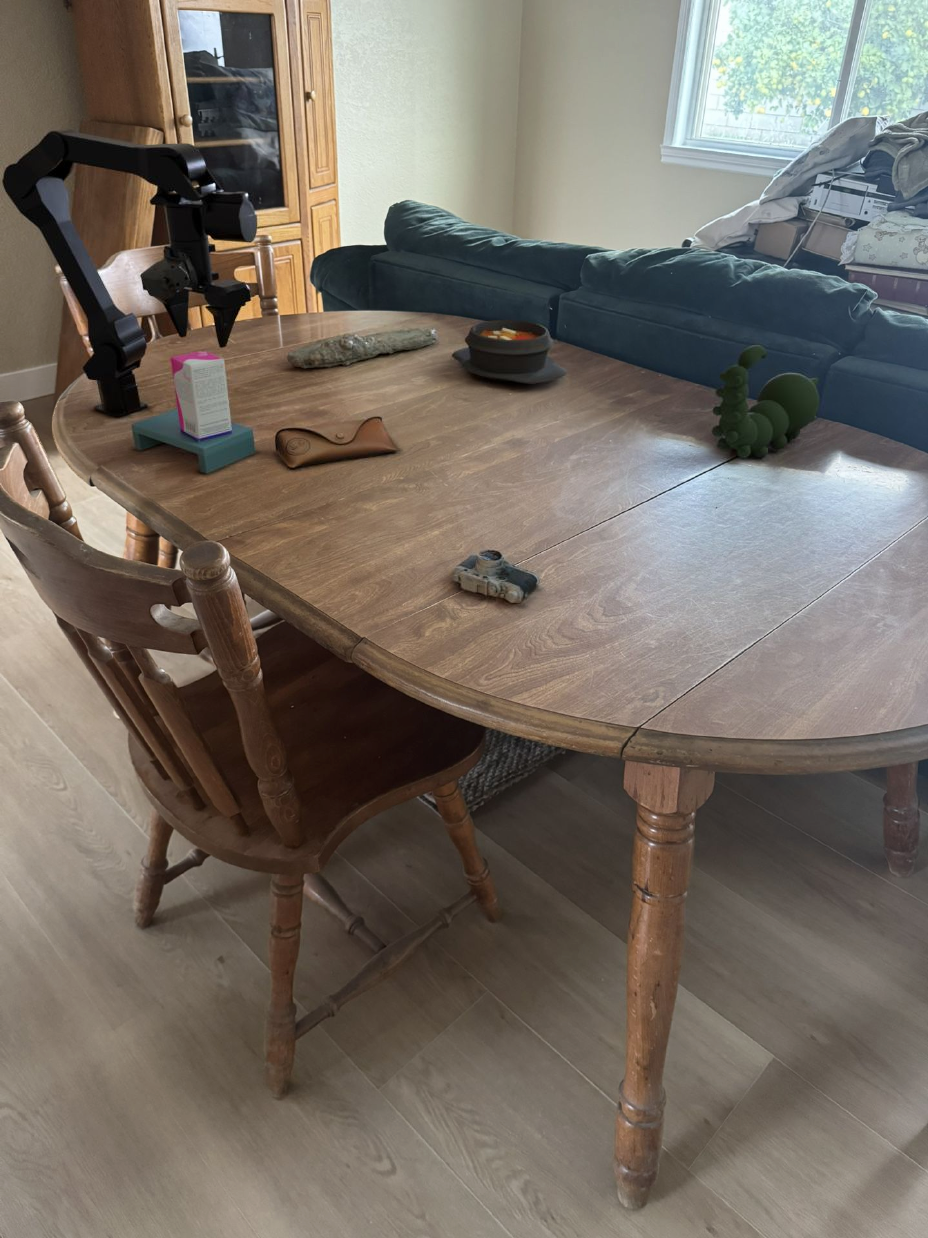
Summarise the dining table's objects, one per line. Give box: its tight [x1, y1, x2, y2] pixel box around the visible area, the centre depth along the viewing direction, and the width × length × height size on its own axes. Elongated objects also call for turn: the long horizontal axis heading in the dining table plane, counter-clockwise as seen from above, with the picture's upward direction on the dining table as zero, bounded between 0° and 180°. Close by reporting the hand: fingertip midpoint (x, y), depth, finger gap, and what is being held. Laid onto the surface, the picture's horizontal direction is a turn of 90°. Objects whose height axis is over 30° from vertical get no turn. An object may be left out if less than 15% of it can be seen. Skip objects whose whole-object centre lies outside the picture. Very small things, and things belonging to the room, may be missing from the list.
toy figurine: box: [711, 344, 820, 459], centre depth 143 cm, size 9×19×25 cm
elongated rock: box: [286, 327, 438, 369], centre depth 184 cm, size 35×5×10 cm
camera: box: [451, 549, 541, 604], centre depth 107 cm, size 5×10×4 cm, turn 57°
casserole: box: [451, 319, 568, 385], centre depth 175 cm, size 25×19×8 cm
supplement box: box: [170, 350, 232, 442], centre depth 134 cm, size 6×6×12 cm
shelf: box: [130, 407, 256, 475], centre depth 140 cm, size 16×10×4 cm, turn 56°
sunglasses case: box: [274, 415, 399, 469], centre depth 141 cm, size 18×7×7 cm, turn 116°
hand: (202, 341), depth 146 cm, fingers open, 9 cm apart
